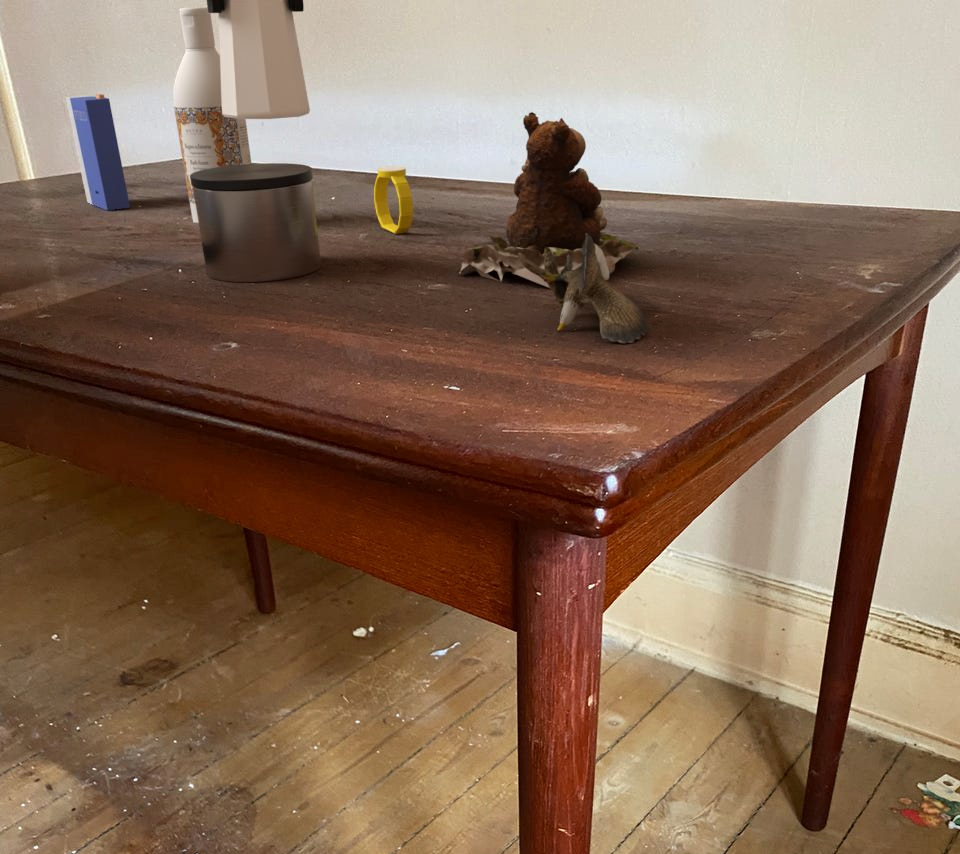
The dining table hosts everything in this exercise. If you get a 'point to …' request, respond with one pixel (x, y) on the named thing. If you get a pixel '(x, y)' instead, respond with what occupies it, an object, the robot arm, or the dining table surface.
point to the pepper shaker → (260, 61)
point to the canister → (257, 221)
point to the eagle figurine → (591, 293)
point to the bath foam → (204, 105)
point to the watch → (403, 194)
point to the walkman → (98, 151)
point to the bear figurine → (549, 209)
